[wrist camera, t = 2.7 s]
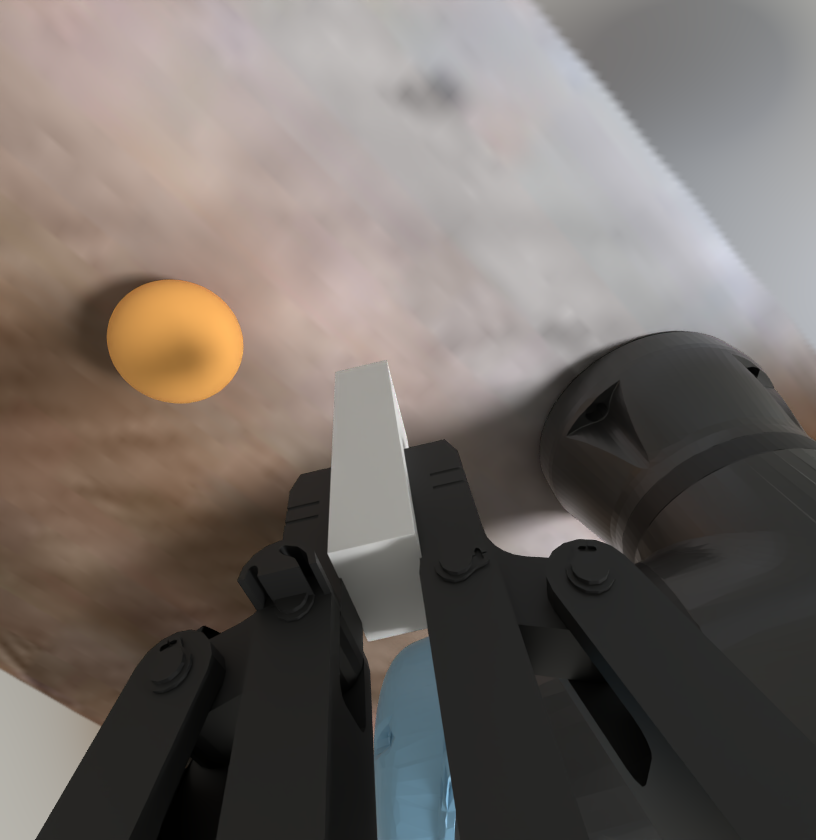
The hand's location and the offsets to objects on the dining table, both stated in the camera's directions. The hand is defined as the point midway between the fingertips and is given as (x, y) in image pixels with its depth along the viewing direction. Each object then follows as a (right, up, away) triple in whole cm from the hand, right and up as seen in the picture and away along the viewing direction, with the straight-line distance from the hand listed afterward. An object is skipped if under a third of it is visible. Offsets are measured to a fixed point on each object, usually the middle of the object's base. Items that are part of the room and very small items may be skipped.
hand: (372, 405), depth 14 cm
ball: (-10, +3, +9) cm, 14 cm away
